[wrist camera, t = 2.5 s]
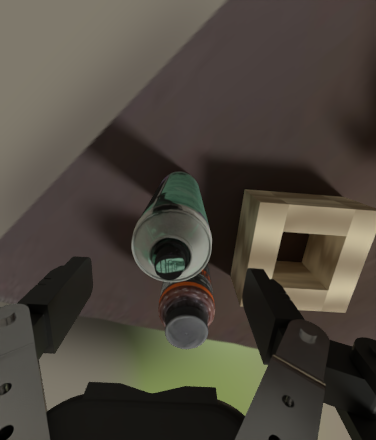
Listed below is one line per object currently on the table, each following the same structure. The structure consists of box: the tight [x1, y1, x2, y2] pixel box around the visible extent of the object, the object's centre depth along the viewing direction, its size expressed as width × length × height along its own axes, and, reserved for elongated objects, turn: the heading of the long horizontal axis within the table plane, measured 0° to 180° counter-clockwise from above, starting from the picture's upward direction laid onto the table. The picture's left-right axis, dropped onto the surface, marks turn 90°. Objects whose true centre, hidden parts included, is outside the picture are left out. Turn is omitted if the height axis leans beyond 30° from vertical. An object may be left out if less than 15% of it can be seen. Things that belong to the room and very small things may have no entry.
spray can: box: [131, 172, 212, 282], centre depth 22 cm, size 6×6×20 cm
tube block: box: [230, 189, 376, 313], centre depth 31 cm, size 14×14×7 cm
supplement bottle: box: [158, 264, 215, 349], centre depth 29 cm, size 7×7×13 cm
